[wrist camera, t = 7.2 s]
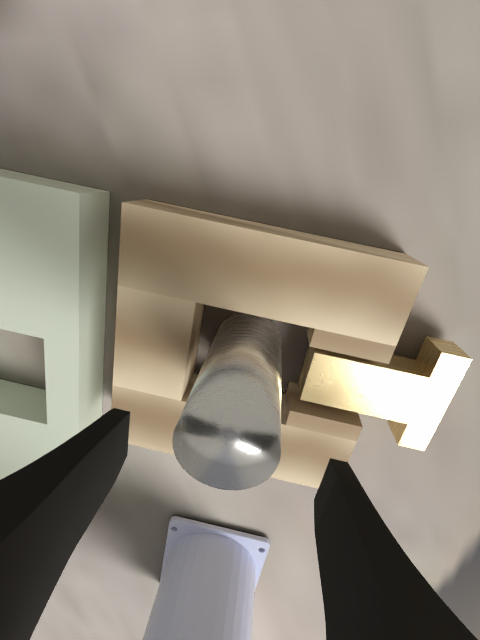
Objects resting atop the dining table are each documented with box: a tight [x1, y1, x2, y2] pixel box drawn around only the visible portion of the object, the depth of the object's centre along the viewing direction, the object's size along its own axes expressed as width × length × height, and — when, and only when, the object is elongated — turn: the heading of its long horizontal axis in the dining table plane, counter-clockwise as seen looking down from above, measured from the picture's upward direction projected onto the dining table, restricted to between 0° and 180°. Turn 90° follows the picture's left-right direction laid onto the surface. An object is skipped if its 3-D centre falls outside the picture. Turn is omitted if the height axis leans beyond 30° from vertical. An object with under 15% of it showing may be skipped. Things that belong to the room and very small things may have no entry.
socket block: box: [111, 199, 429, 488], centre depth 19 cm, size 14×14×3 cm
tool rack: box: [0, 169, 110, 480], centre depth 21 cm, size 22×10×3 cm, turn 169°
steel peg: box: [172, 312, 282, 490], centre depth 17 cm, size 4×4×9 cm
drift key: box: [298, 336, 472, 451], centre depth 19 cm, size 6×8×2 cm
